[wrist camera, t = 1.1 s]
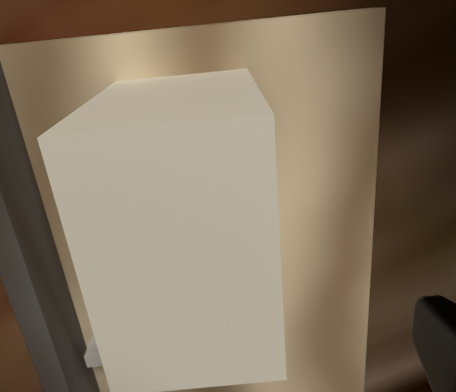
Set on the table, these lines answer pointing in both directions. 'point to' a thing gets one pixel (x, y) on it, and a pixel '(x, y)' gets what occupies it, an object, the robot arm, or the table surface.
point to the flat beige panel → (286, 180)
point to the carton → (175, 229)
